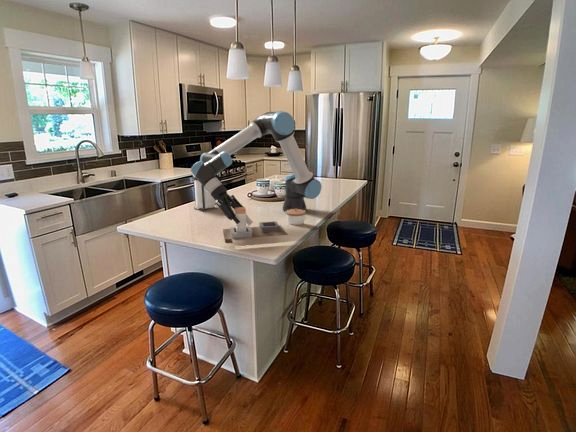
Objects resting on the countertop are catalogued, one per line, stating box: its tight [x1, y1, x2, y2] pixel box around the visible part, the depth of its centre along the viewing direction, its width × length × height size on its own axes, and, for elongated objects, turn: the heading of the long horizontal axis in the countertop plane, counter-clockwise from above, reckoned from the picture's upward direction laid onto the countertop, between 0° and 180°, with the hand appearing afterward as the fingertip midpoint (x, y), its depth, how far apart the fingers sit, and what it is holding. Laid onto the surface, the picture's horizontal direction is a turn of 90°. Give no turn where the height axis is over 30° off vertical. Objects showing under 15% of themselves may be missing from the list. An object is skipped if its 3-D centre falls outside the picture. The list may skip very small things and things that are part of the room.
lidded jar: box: [285, 208, 307, 226], centre depth 181 cm, size 11×11×9 cm
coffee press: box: [192, 174, 222, 212], centre depth 214 cm, size 17×16×30 cm
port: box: [229, 225, 253, 240], centre depth 161 cm, size 10×10×2 cm
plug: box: [234, 206, 247, 232], centre depth 160 cm, size 4×4×12 cm
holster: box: [258, 220, 280, 232], centre depth 171 cm, size 9×9×2 cm
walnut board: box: [222, 224, 288, 243], centre depth 166 cm, size 30×16×2 cm, turn 104°
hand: (247, 225), depth 159 cm, fingers closed on plug, 6 cm apart
